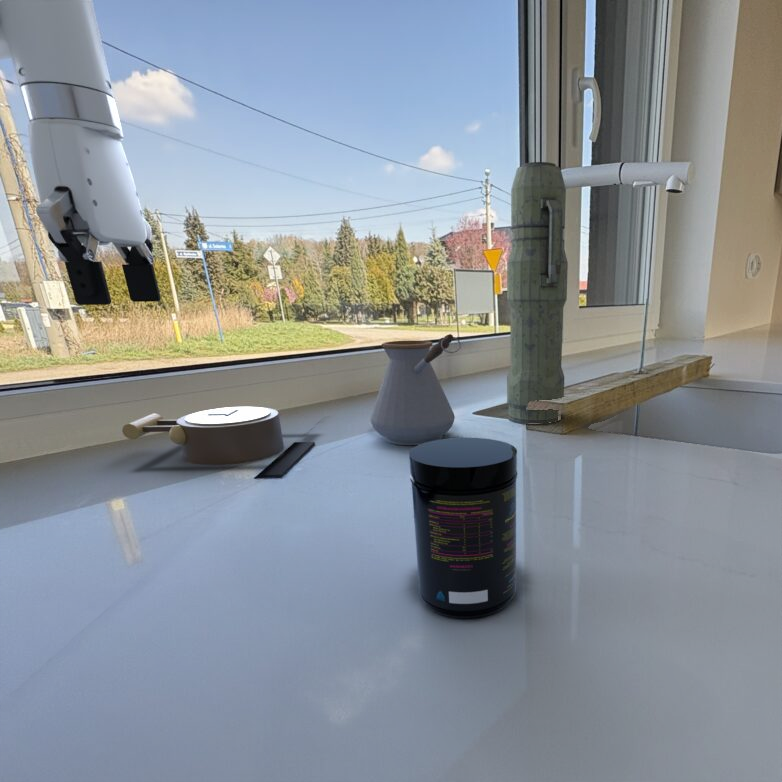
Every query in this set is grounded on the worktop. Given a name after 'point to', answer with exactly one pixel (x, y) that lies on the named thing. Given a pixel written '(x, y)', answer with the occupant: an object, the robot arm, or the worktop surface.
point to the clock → (218, 434)
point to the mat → (286, 460)
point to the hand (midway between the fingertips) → (122, 302)
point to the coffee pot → (412, 394)
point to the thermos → (536, 291)
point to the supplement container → (465, 524)
